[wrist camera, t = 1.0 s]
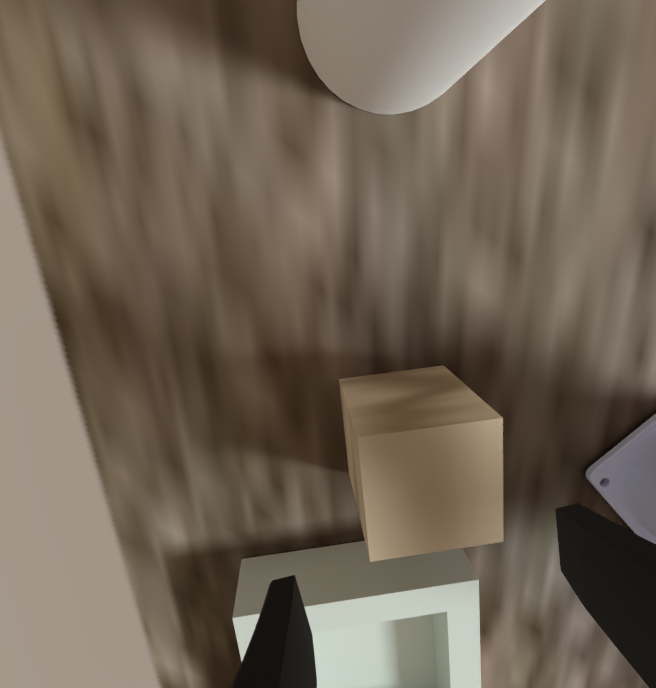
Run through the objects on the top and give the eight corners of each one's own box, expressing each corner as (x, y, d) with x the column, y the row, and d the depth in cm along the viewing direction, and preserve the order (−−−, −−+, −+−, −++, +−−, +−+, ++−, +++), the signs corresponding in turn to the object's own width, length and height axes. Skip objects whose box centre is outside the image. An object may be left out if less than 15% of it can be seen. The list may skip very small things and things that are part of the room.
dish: (450, 527, 23) (478, 579, 19) (457, 685, 26) (482, 754, 22) (241, 559, 22) (232, 617, 19) (271, 716, 25) (268, 792, 22)
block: (443, 365, 20) (502, 417, 15) (447, 458, 22) (503, 541, 16) (338, 378, 20) (357, 437, 14) (348, 472, 21) (370, 562, 16)
